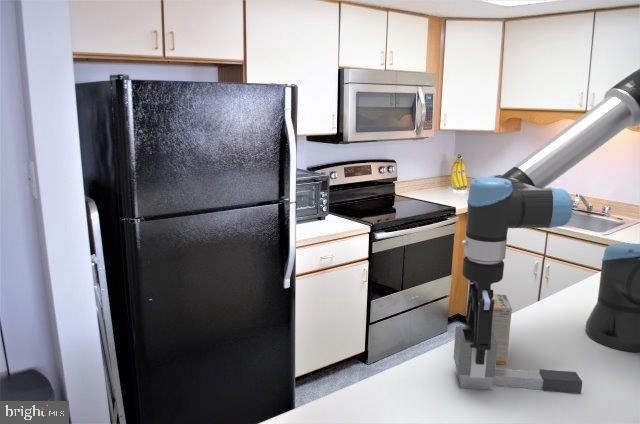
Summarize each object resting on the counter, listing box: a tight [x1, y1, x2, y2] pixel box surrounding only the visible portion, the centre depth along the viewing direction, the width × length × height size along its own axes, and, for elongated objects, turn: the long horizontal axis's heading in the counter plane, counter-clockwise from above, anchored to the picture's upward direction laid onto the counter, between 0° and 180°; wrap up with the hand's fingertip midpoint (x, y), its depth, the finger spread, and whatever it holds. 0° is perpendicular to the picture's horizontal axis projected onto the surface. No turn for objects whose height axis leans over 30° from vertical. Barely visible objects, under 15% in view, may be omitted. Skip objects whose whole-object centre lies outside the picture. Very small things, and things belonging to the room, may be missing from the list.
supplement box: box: [492, 293, 513, 365], centre depth 114 cm, size 8×5×13 cm, turn 168°
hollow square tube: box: [453, 326, 498, 378], centre depth 103 cm, size 7×7×7 cm
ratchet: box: [457, 368, 583, 395], centre depth 103 cm, size 23×6×7 cm, turn 82°
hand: (474, 366), depth 104 cm, fingers closed on hollow square tube, 7 cm apart
